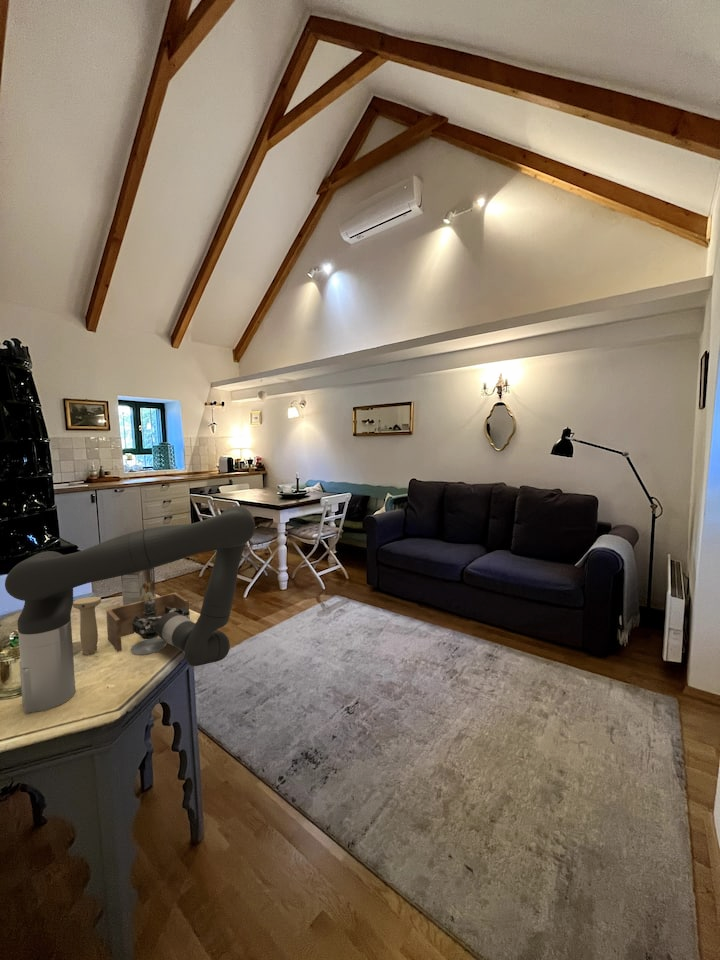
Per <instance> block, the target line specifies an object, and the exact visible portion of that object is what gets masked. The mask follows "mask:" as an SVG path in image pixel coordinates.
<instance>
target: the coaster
mask: <svg viewBox="0 0 720 960" xmlns="http://www.w3.org/2000/svg"><path fill="white" fill-rule="evenodd" d="M166 645H167V642H166V641H164V640H163V639H161V638H160V637H155V638H152V639H143V640H141V641H138V642H136V643H135V644H133V645H132V646H131V648H130V653H131V654H133V655H136V656H144V655H151V654H154V653H157V652H159V651H160V650H163V649H164V648H165V647H166Z"/></svg>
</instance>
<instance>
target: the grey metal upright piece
mask: <svg viewBox="0 0 720 960" xmlns="http://www.w3.org/2000/svg"><path fill="white" fill-rule="evenodd" d="M156 611H157V610H156V609H155V600H153V599H150V597H149V599H148V600H147V601H145V611H144V614H145V619H147V618H148V617H156ZM143 623H144V624H145V625H146V623H145V622H143ZM151 623H152V621H151ZM141 638H142V639H143V640H147V639H152V638H159V636H158V635H157V634H156V632H152V631H148V632H146V635H145V636H141Z"/></svg>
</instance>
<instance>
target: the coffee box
mask: <svg viewBox="0 0 720 960" xmlns="http://www.w3.org/2000/svg"><path fill="white" fill-rule="evenodd" d="M120 577H121V590H122V591H121V592H122V593H121V594H122V606H124V605H128V604H132V603H135V602H139V601H143V600H147V599H149V597H150V599H151V598H155V597H157V596H156V583H155V582H156V580H155V567H154V568H151V569H147V570H143V571H140V572H135V573H131V574H127V575H123V576H120Z"/></svg>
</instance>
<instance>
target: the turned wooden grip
mask: <svg viewBox="0 0 720 960" xmlns="http://www.w3.org/2000/svg"><path fill="white" fill-rule="evenodd" d="M101 603H102V598H101V596H90V597H89V596H87V597H82V598H78V599H77V598H76V599H75V600H73V606H72V608H74V609H76V610H79V613H80V614H79V615H80V616H79V617H80V619H79V620H80V621H79V622H80V623H79V625H80V628H79V636H80V637H79V638H80V643H81V644H80V645H81V648H82V650H81V651H82V654H83V655H86V656H89V655H92V654H95V653H96V652H97V651H98V641H99V633H98V624H97V618H96V607H98V606H99V605H100V604H101Z"/></svg>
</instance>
